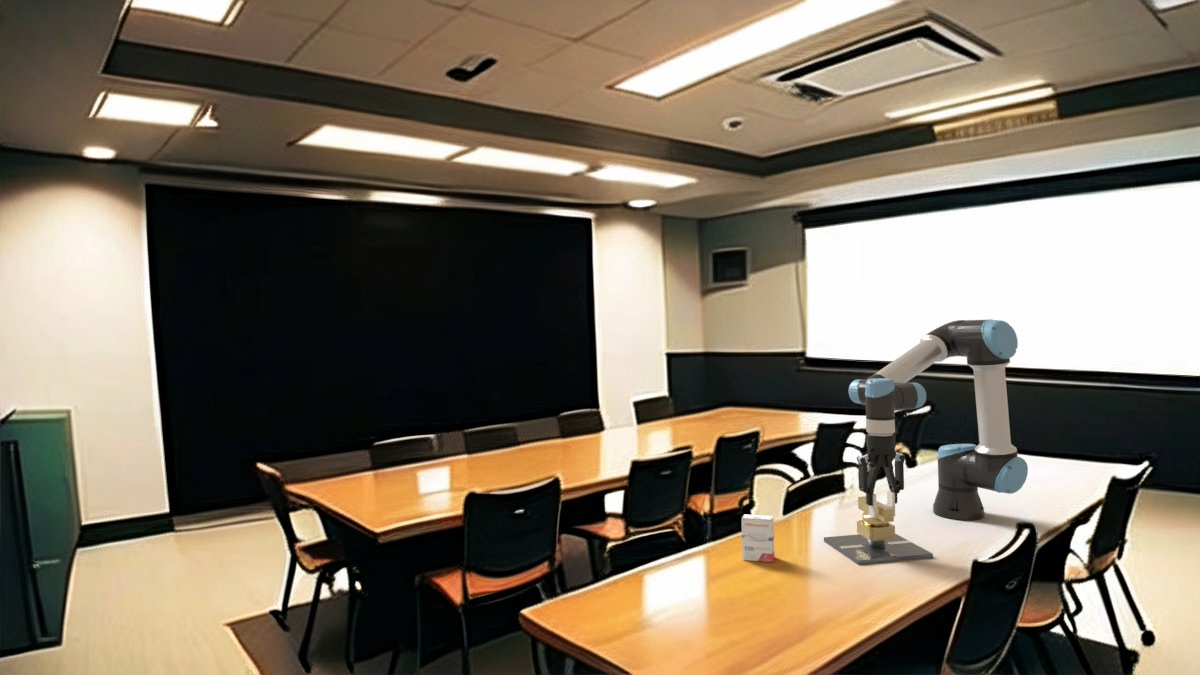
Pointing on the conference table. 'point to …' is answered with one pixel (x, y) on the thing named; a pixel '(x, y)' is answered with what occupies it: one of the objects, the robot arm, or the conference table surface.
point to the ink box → (757, 538)
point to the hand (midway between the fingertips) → (882, 515)
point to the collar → (876, 521)
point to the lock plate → (877, 549)
